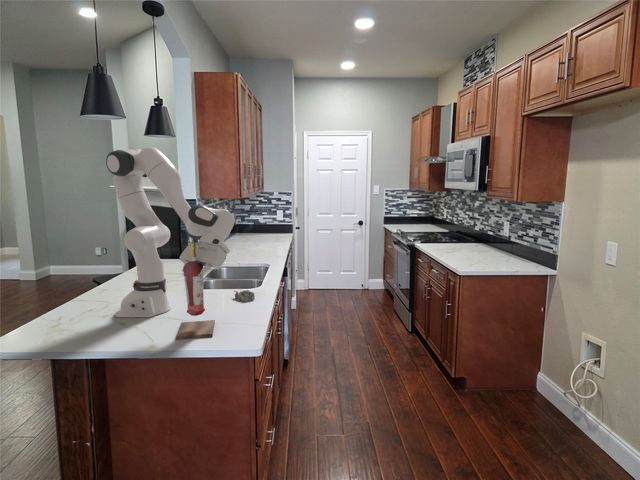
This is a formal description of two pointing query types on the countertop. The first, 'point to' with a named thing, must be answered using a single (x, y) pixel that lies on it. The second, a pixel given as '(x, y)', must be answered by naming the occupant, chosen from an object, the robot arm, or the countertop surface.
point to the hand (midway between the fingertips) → (192, 273)
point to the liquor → (194, 283)
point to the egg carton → (245, 295)
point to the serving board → (195, 329)
